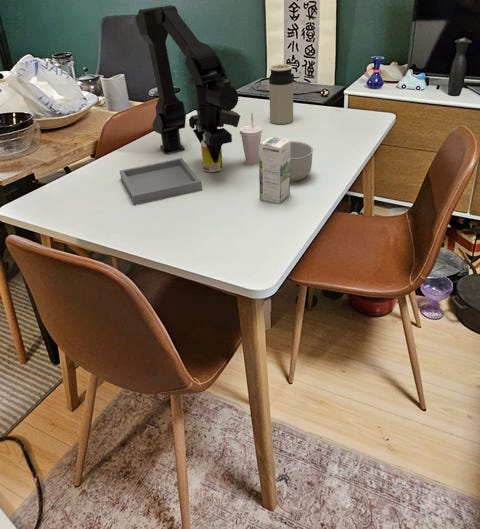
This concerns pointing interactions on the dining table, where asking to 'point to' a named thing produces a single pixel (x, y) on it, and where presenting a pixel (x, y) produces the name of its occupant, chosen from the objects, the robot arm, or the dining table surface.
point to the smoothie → (251, 141)
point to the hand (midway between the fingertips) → (212, 158)
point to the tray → (160, 181)
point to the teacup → (300, 160)
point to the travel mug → (281, 94)
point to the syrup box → (274, 169)
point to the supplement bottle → (210, 159)
